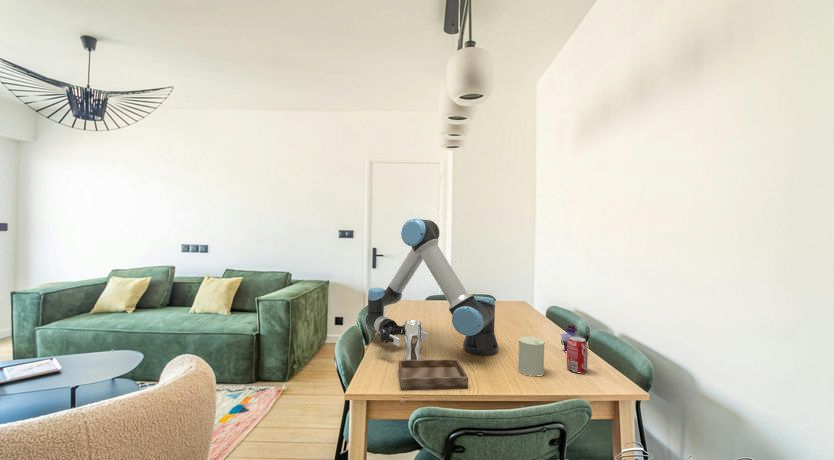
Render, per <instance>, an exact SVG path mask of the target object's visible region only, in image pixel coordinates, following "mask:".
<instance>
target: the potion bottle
mask: <svg viewBox="0 0 834 460" xmlns="http://www.w3.org/2000/svg"><path fill="white" fill-rule="evenodd" d="M565 329H566V331H567V333H561V334H560V336H561V340H560V341H561V342H560V343H561V345H562V346H563V347H564V352H565V351H567V341H568V340H569V337H571V336H577V337H582V336H580V335H577V334H576V333H577V332H578V330H577V329H578V328H577V327H576V325H575V324H572V323H568V324H567V326H566V327H565Z"/></svg>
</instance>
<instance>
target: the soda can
mask: <svg viewBox="0 0 834 460" xmlns="http://www.w3.org/2000/svg"><path fill="white" fill-rule="evenodd" d="M586 340H587V339H586V338H584V337H582V336H581V337H577V336H571V337H569V340H568V341H567V353H566V368H567V369H569V371H570V370H572V371H575V372H584V373H585V372H587V371H588V362H589V361H588V358H589V357H588V356H589V355H588V353H589V352H588V351H589V348H588V347H589V346H588V343H587V341H586ZM572 371H571V372H572ZM575 372H574V373H575Z"/></svg>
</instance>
